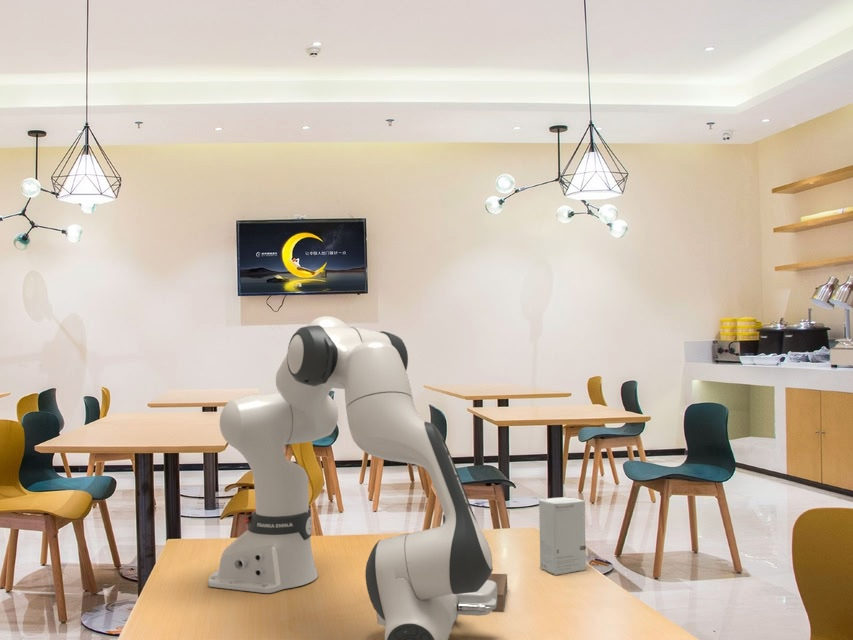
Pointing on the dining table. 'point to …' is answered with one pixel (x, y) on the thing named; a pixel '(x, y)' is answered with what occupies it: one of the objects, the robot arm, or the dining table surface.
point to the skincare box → (562, 535)
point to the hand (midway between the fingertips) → (442, 579)
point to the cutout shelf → (500, 589)
